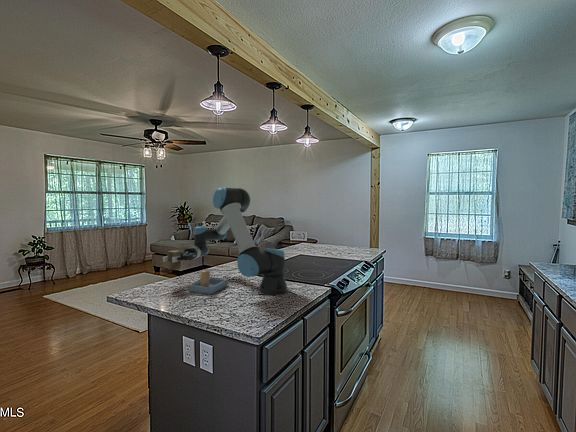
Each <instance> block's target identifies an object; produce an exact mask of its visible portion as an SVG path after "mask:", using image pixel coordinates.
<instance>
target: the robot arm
mask: <svg viewBox="0 0 576 432" xmlns="http://www.w3.org/2000/svg"><path fill="white" fill-rule="evenodd" d="M212 196H213V197H212V204H213V207H214V208H215V209H219V211H220V213H221V214H222V215H223V216H222V218H221V219H220V220H219V222H218V223H217V225H216V226H215V227H214V228H207V227H206V226H201V225H200V226H195V227H194V229H193V230H194V231H193V239H194V242H193V246H190V247H187V248H185V249H184V250H183V251H181V257H180V256H176V257H172V263H174V262H177V261H180V260H181V261H193V260H196V259H197V258H201V257H205V256H206V255H209V252H210V248H209V246H208V244H207V241H208V242H209V241H217V240H218V241H221V240H225V239H226V238H227V236H228V231H229V229H230V231H231V233H232V235H233V238H234V240H235V243H236V245H237V248H238V250H239V252H238V254H237V255H238V258H237V260H236V262H237V263H236V264H237V266H236V267H237V269H238V271H239V273H240V274H241V275H242V276H244V277H247V278H250V277H252V278H253V277H256V276H260V275H261V276H262V279H261V282H260V285H259V292H260V293H262V294H265V295H281V294H285V293H287V292H288V285H287V282H286V278H285V261H286V257H285V251H284V250H283V249H279V248H270V247H266V248H265V247H264V248H263V249H262V250H261V249H260V246H258V245H256V244H255V242H254V239H253V238H252V237H253V236H252V235H251V233H250V230H249V227H248V226H247V223H246V220H245V219H244V216H243V214H244V213H245V212H246V211H247V210H248V208H249V207H250V204H251V197H250V194H249V193H248V191H246V189H243V188H239V187H238V188H237V187H218V188H216V190H215V191H214V192H213V195H212ZM162 262H163V263H165V262H168V259H167V255H166V256H163V257H162Z"/></svg>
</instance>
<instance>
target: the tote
mask: <svg viewBox="0 0 576 432" xmlns="http://www.w3.org/2000/svg"><path fill="white" fill-rule="evenodd" d="M227 286H228V279H227V278H226V279H224V278H212V277H210V287H205V286H200V280H198V281H196V282H194V283H192V284H190V285H189V286H188V291H189V293H194V294H195V293H196V294H206V295H207V294H208V295H213V294H215V293H217V292H218V291H220V290H222V289H224V288H226V287H227Z"/></svg>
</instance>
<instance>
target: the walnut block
mask: <svg viewBox="0 0 576 432" xmlns="http://www.w3.org/2000/svg"><path fill="white" fill-rule="evenodd" d="M181 252H182V251H181V250H177V249H176V250H174V249H173V250H169V251H167V255H166V256H167V259H168V261H167V270H169V271H176V270H177V271H178V270H180V269H181V268H182V265H181V264H182V260H180V261H177V262H174V263H172V257H176V256H180V257H181Z"/></svg>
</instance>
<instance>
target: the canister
mask: <svg viewBox="0 0 576 432" xmlns="http://www.w3.org/2000/svg"><path fill="white" fill-rule="evenodd" d="M199 274H200V276H199V277H200V278H199V279H200V280H199V281H200V286H205V287H210V278H211V271H210V270H208V269H204V270H203V269H202V270H200V272H199Z"/></svg>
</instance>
